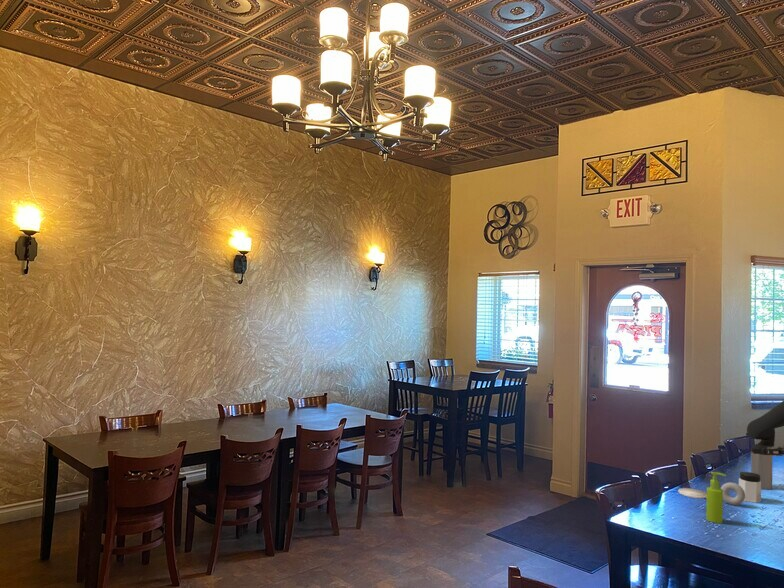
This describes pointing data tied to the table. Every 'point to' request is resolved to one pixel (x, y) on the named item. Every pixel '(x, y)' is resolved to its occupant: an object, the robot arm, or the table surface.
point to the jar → (751, 486)
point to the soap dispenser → (714, 500)
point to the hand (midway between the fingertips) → (756, 450)
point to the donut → (737, 489)
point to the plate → (693, 493)
